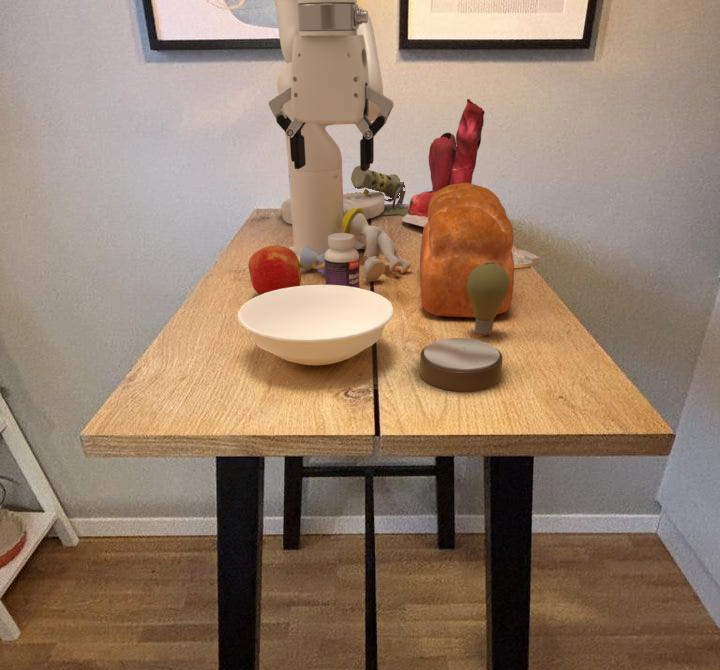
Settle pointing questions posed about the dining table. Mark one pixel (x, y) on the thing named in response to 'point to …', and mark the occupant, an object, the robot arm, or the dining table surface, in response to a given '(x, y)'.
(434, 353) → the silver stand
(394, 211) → the map
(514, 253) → the stamped metal plate
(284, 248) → the apple
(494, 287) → the light bulb
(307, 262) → the fairy figurine
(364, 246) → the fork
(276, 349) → the bowl
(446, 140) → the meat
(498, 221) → the bread
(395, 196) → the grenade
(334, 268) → the pill bottle
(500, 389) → the dining table surface
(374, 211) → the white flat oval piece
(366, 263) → the figurine
